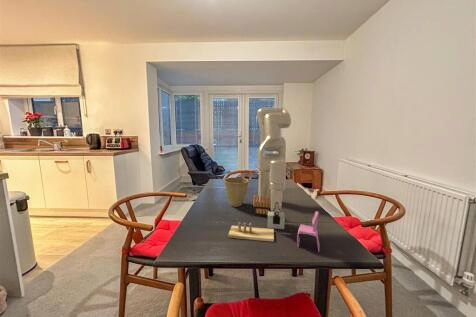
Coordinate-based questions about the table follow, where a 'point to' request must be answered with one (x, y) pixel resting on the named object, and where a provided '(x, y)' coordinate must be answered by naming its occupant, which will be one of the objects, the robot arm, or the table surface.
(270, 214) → the pale green notched block
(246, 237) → the board
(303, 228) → the toy chair
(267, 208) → the ammunition clip
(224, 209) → the table surface
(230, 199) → the plant pot
